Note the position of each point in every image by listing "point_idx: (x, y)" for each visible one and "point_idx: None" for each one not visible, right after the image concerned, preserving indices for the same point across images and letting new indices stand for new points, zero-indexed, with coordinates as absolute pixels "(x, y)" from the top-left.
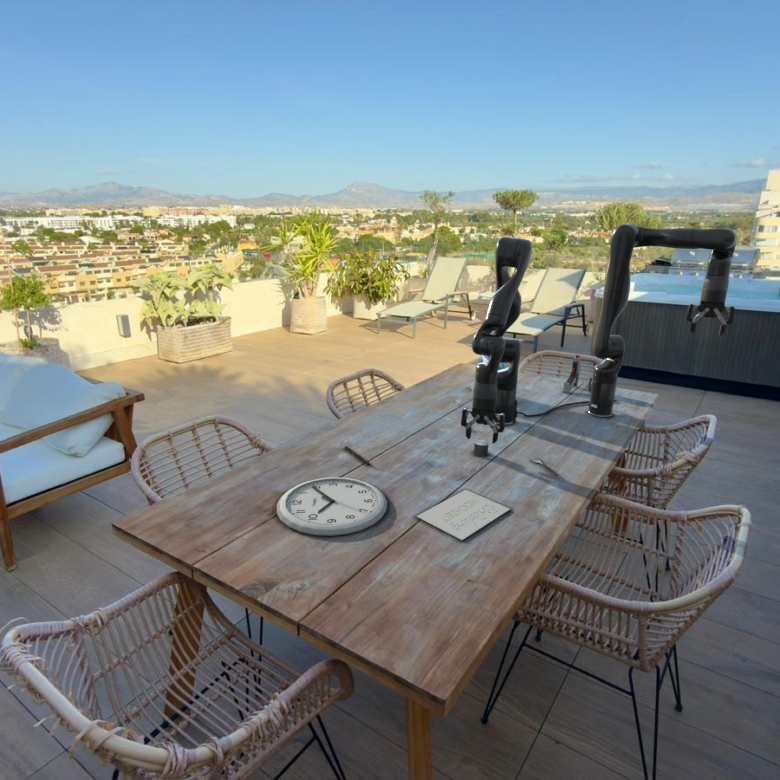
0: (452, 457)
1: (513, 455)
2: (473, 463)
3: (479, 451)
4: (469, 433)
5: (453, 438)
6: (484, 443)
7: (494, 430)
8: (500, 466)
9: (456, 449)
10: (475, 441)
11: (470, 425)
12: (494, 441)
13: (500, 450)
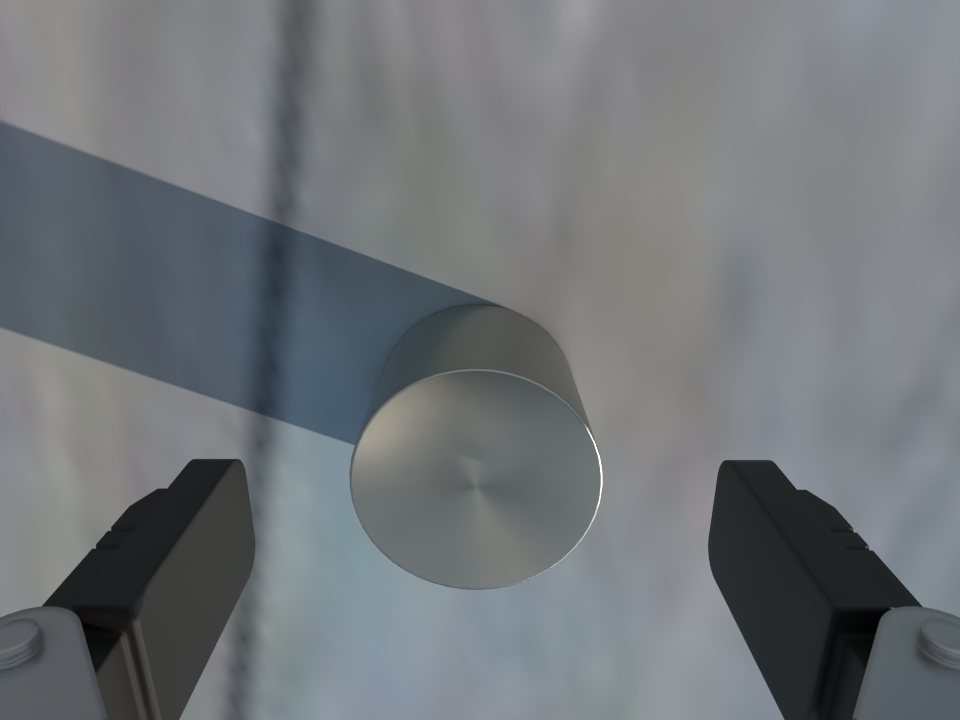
0: (862, 89)
1: (77, 523)
2: (493, 5)
3: (475, 328)
4: (779, 530)
5: None
6: (418, 477)
7: (30, 673)
8: (79, 90)
9: (832, 400)
10: (593, 494)
11: (896, 712)
12: (177, 478)
13: (275, 594)
